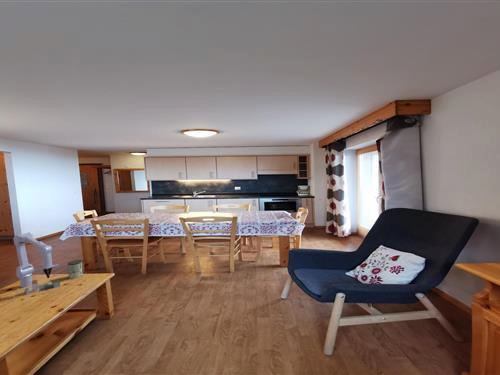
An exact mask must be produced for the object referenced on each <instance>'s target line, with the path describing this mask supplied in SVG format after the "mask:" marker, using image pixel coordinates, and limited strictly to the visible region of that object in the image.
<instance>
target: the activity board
mask: <svg viewBox="0 0 500 375" xmlns="http://www.w3.org/2000/svg"><path fill="white" fill-rule="evenodd" d="M51 282H52V283H54V288H53V289H56V288H59V287H61V280H57V281H51ZM44 285H46V283H43V284H39V285H38V290H37V291H34V292H33V291H32V286H29V287H25V288H24V292H23V296H27V295H31V294H36V293H40V292H44V291H45V290H44Z"/></svg>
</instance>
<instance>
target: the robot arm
mask: <svg viewBox="0 0 500 375" xmlns="http://www.w3.org/2000/svg"><path fill="white" fill-rule="evenodd" d="M27 243H29V244H31V245H33V247H34V248H35V249H37V250H38V251H39V254H40V256H41V259H42V266H40V267H36V268H34V266H33V264H32V263H29V259H28V256H27V255H28V254H27V249H26V244H27ZM13 244H14V246H15V247H16V248H15V249H16V253H17V254H16V255H17V258H18V264H19V266H18V267H17V268H16V269H15V270H16V273H15V275H16V277H17V278H19V286H20V288H24V289H25V288H29V287H32V281H33V277H32V276H33V273H34V272H39V271H43V273H44V275H45V276H46V279H50V276H51V273H52V270H53V269H54V268H59V267H60V264H59V263H56V264H53V258H52V252H53V251H54V248H53V246H52V245H51V244H49V245H48V244H46V243H44V242H43V241H41V240H40V241H38V239H36V238H35V237H33V234H32V233H31V232H27V233H21V234H17V235H14V237H13Z"/></svg>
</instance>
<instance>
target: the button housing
mask: <svg viewBox="0 0 500 375" xmlns="http://www.w3.org/2000/svg"><path fill="white" fill-rule="evenodd" d="M51 289H55V288H54V283H52V285H49V286H46V285H44V291H47V290H51Z"/></svg>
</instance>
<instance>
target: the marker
mask: <svg viewBox="0 0 500 375" xmlns="http://www.w3.org/2000/svg"><path fill="white" fill-rule="evenodd" d="M38 286H39V285H38V279H34V280H33V279H32V285H31V287H32V291H33V292H34V291H37V290H38Z"/></svg>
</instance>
